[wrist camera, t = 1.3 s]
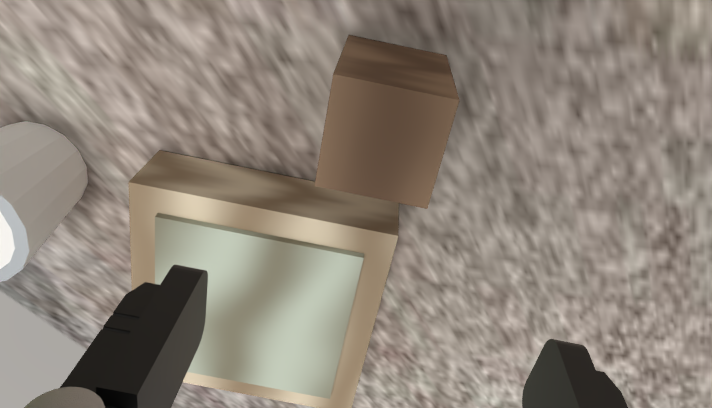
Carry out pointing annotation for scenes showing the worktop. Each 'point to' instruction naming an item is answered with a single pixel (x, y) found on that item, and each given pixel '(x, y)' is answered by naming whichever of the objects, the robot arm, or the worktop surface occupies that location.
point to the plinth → (267, 273)
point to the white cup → (34, 189)
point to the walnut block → (387, 122)
